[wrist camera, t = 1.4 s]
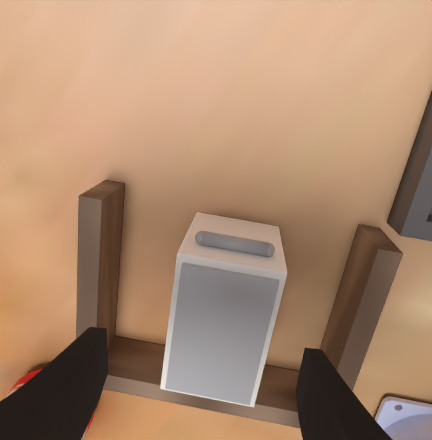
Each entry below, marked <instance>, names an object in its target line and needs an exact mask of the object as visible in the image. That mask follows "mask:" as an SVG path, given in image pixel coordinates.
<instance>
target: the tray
mask: <svg viewBox="0 0 432 440" xmlns="http://www.w3.org/2000/svg"><path fill="white" fill-rule="evenodd" d="M387 223H388V224H389V225H390V226H391V227H392V228H393V229H394V230H395V231H396V232H397V233H398V234H399V235H400V236H405V237H411V238H417V239H422V240H428V241H432V92H431V95H430V98H429V100H428V103H427V106H426V109H425V112H424V115H423V118H422V121H421V124H420V127H419V130H418V133H417V136H416V139H415V142H414V144H413V147H412V150H411V153H410V156H409V159H408V162H407V165H406V168H405V171H404V174H403V177H402V180H401V183H400V186H399V188H398V191H397V194H396V197H395V200H394V203H393V206H392V209H391V212H390V215H389V218H388V221H387Z"/></svg>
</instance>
